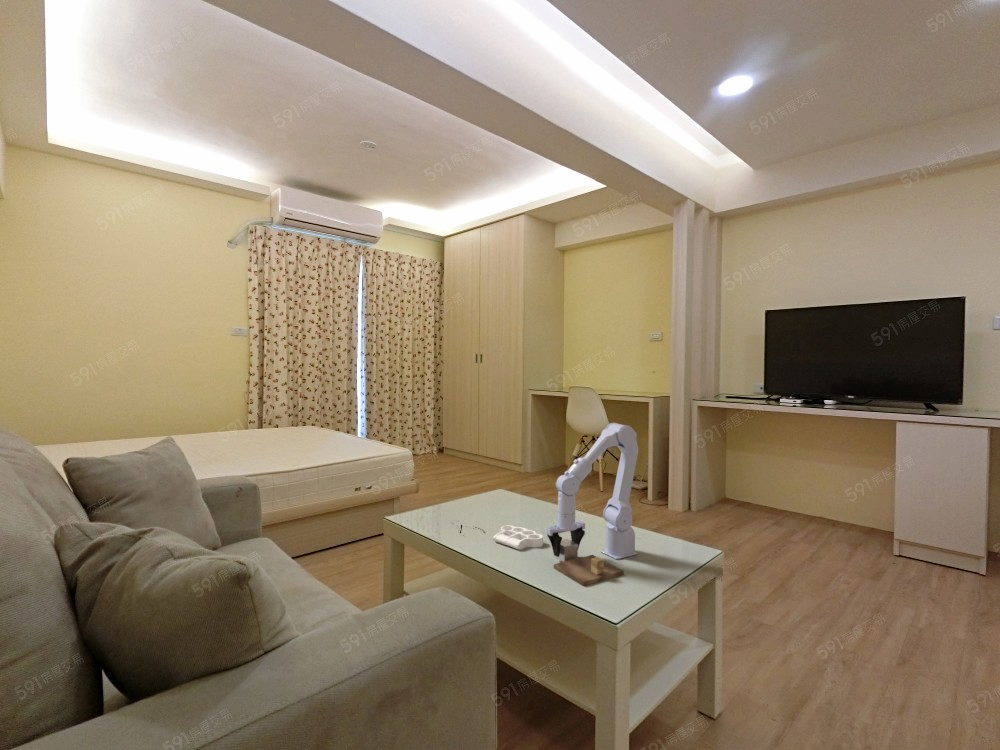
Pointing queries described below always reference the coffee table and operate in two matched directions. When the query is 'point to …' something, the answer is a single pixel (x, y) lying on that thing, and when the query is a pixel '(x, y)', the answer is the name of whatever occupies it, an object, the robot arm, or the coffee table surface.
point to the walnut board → (588, 570)
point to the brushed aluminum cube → (567, 550)
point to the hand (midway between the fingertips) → (565, 553)
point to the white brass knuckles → (518, 537)
